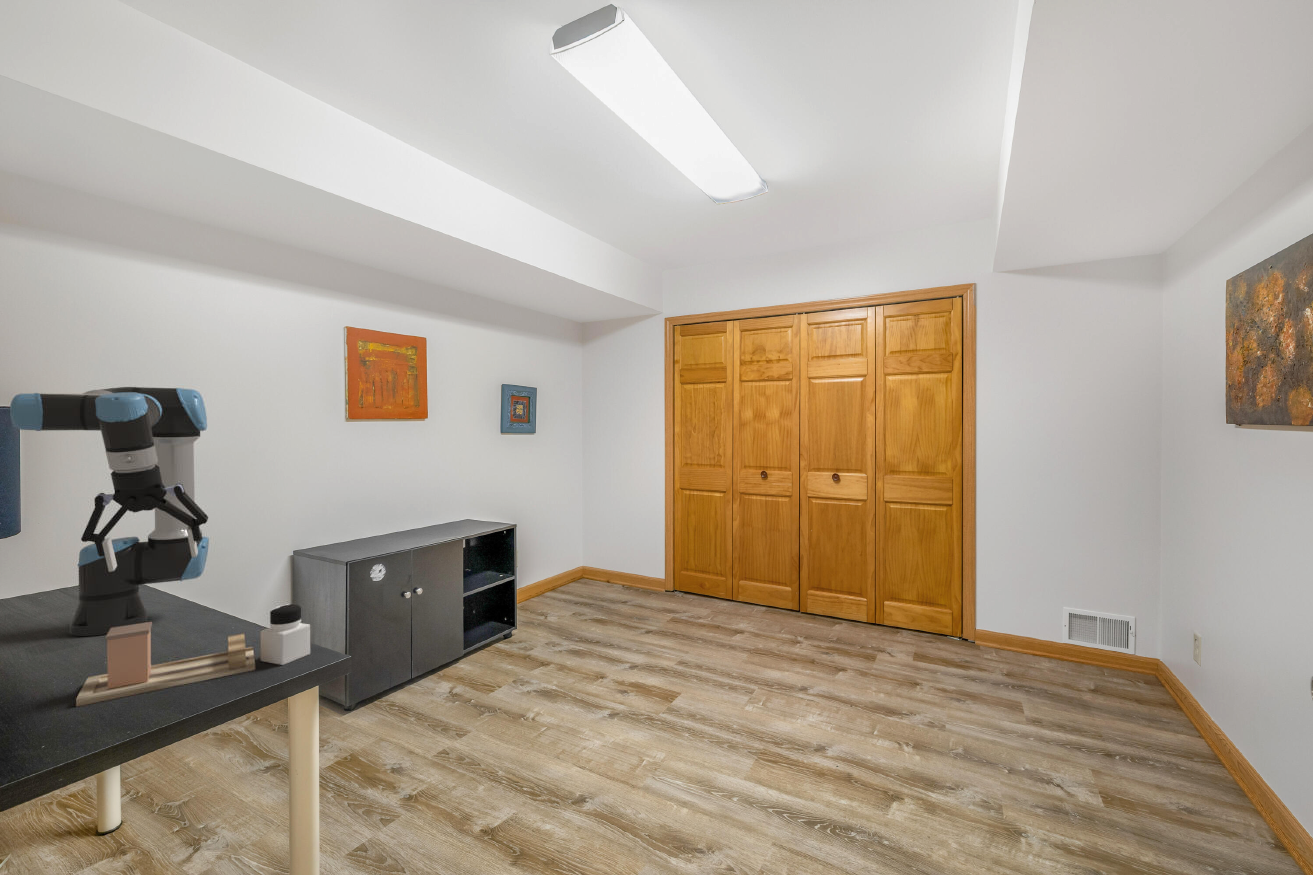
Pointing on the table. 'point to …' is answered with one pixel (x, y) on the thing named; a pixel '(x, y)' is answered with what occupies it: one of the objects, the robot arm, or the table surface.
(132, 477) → the robot arm
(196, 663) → the rail track
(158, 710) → the table surface
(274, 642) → the medicine bottle
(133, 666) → the pink box with lid
